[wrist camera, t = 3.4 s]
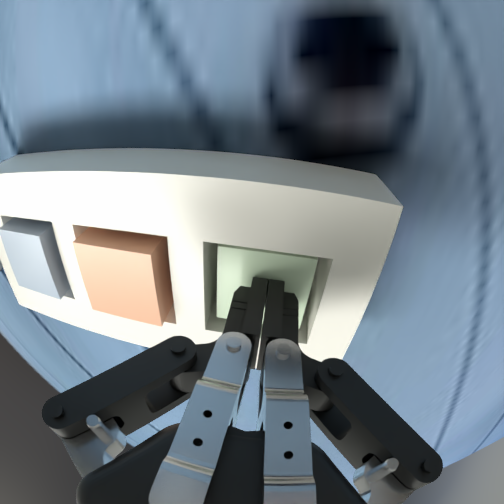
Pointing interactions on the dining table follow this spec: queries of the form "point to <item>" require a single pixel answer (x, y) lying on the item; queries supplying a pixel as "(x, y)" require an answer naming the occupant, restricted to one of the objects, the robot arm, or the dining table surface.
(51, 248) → the key slate
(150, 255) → the key terracotta
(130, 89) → the dining table surface
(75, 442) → the robot arm
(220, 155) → the keypad frame
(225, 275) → the key sage
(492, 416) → the dining table surface
